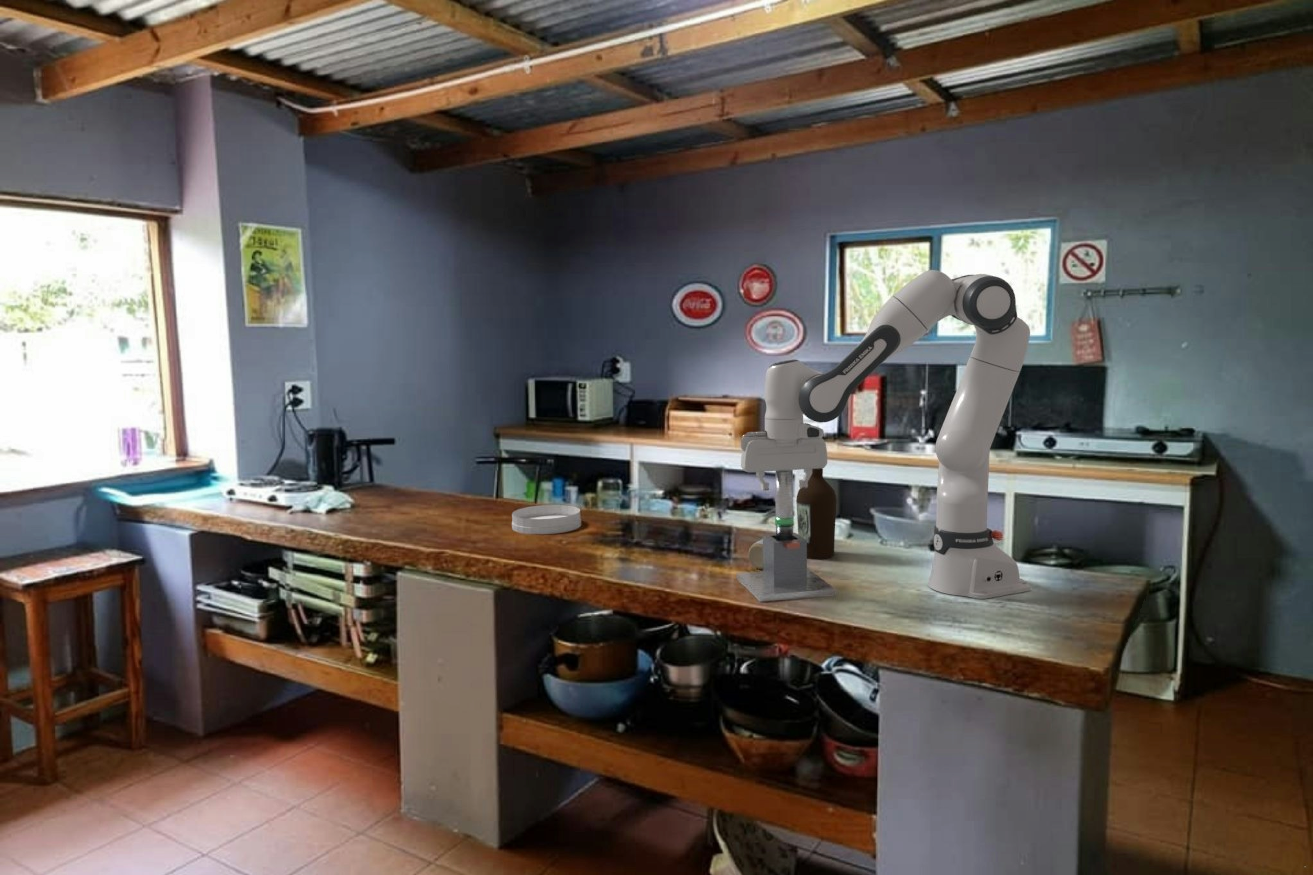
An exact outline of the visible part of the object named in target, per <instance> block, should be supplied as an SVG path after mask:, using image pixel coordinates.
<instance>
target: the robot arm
mask: <svg viewBox="0 0 1313 875" xmlns="http://www.w3.org/2000/svg"><path fill="white" fill-rule="evenodd" d="M1016 302H1017V301H1016V294H1015V291H1014V289H1013V288H1012V285H1010V284H1009V282H1007V280H1004V279H1003V278H1001V277H999V276H996V275H995V276H993V275H990V274H986V273H978V274H966V275H961V276H959V277H955V278H952V279H951V277H950V276H948V275H947V274H946V273H944V272H942V271H940V270H937V269H929V270H925V271H924V272H922V273H921V274H919V275H917V276H915V278H913V279H911V280H910V281H909V282H907V283H905V285H903V287H901V288H899V290H898V291H897V292H896V293H894V294H893V295H892V296H891V297H890V298H889V299H888V300H887V301H886V302H885V303H884V304H883V305H882V306H881V308H880V309H879V310H878V312H876V314H875V316H873V318H872V320H871V322H870V324H869V327H868V328H867V331H866V334H865V335H864V336H863V338H862V340H861V341H860V342H859V343H858V344H857V346H856V347H855V348H854V349H852V351H850V352H849V354H847V355H846V356H845V357H844V358H843V359H842V360H841V361H840V362H838V364H837V365H835V367H834V368H832V369H831V370H829V371H827V372H826V373H825V372H822V371H818V370H816V369H814V368H811V367H809V366H807V365H806V364H804V363H803V362H802V361H800V360H799V359H787V360H784V361H778V362H774V363H773V364H771V365H769V367H768V368H767V370H766V373H765V378H764V401H765V406H766V408H765V412H764V413H765V414H764V430H762V431H749V432H746V433H745V434H743V435H742V436H741V439H740V448H741V458H740V467H741V469H742V470H743V471H744V472H747V473H755V476H756V478H757V479H758V481H759V482H760V490H761V491H762V492H763V491H770V482H767V481H765V479H764V477H765V472H775V471H783V470H793V471H795V470H802V471H803V473H805V474H804V476H802V479H799V480H798V482H799V483H798V486H799V489H800V488H807V487H808V480H809V478H810V477H811V475H812V469H818V468H823V469H825V467H826V466H827V465H828V450H827V443H826V442H825V440H824V439H823V437H824V431H825V430H824V429H823V428H821V427H818V426H814V425H812V424H811V423H806V422H805V421H804V416H805V417H806V418H807V419H809V420H810V421H813V422H816V423H829V422H831V421H833V420H836V419H837V418H838V417H839V416H840V415H842V413H843V411H844V410H845V407H846V405H847V403H848V400H849V399H850V396H851V395H852V393H853V391H855V389H857V387H858V386H859V385H861V383H862V382H863V381H864V380H866V379H867V377H869V375H871V374H872V373H873V372H874V371H875V370H876V369H877V368H878V367H879V366H880V365H882V364H883V363H885V362H886V361H887V360H888V359H890V358H892V357H893V356H895V355H897V354H899V353H901V352H903V351H904V350H906V349H907V348H909V347H911V346H912V345H914V344H915V343H916V342H917V341H919V340H920V339H921V338H922V337H923V336H925V335H926V334H927V333H928V332H929V331H930V330H931V329H933V327H934V326H935V325H936V324H937V323H938V322H940V321H942V320H943V319H945V318H946V317H950V316H951V317H953V319H956V320H958V321H960V322H963V323H964V324H967V325H970V326H973V327H974V328H975V343H974V345H973V347H972V350H971V353H970V356H969V357H968V360H967V362H966V366H965V369H964V371H963V374H962V376H961V378H960V381H959V384H958V386H957V389H956V392H955V394H954V395H953V396H954V397H953V399H952V401H951V404H950V406H949V408H948V410H947V413H946V416H945V419H944V421H943V424H942V426H941V429H940V430H939V434H938V436H937V439H936V442H935V454H936V457H937V460H938V474H937V475H938V476H937V488H936V507H935V508H936V512H935V513H936V514H935V515H936V518H935V522H936V523H935V525H934V526H933V548H934V549H933V550H934V554H933V562H932V568H931V572H930V575H929V578H928V582H927V586H928V587H929V588H930V589H933V590H934V591H937V592H940V593H943V594H948V595H955V596H961V597H969V598H973V599H978V600H984V599H985V600H987V599H990V598H996V597H1002V596H1008V595H1014V594H1017V593H1023V592H1024V593H1025V592H1029V591H1031V585H1030V584H1029V583H1028V581H1026V580H1025V579H1023V578H1021V577H1020V570H1019V566H1018V563H1017V562H1016V560H1015V559H1014V558H1012V557H1011V556H1010V555H1009V554H1008V553H1006V552H1005V551H1003V550H1002V549H1001V548H1000V547H998V546H997V545H996V544H994V543H995V542H994V540H996V541H1002V540H1003V538H1004V533H1003V532H1002V531H999V530H991V529H990V528H988V503H989V502H988V501H989V500H988V499H989V473H990V450H991V446H992V444H993V442H994V439H995V436H996V434H997V432H998V428H999V426H1000V423H1001V421H1002V419H1003V415H1004V414H1005V411H1006V409H1007V406H1008V403H1009V401H1010V397H1012V396H1011V395H1012V393H1013V391H1014V388H1015V385H1016V382H1017V381H1018V378H1019V376H1020V373H1021V370H1022V367H1023V365H1024V362H1025V358H1026V355H1027V352H1028V351H1027V350H1028V347H1029V344H1030V343H1029V342H1030V337H1031V330H1030V327H1029V325H1028V323H1026V321H1024V320H1023V319H1022V318H1020V317H1018V311H1017V306H1016V305H1017V304H1016ZM993 539H994V540H993Z"/></svg>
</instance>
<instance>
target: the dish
mask: <svg viewBox="0 0 1313 875" xmlns="http://www.w3.org/2000/svg"><path fill="white" fill-rule="evenodd" d="M511 519H512V521H511V529H512V530H513V531H514V532H516V533H519V534H524V535H525V534H526V535H552V534H553V535H554V534H560V533H561V534H562V533H566V532H567V533H568V532H571V531H574V530H577V529H579V528H580V527H581V526H582V517H581V509H580V508H579V507H576V506H573V505H563V504H542V505H541V504H540V505H533V506H526V507H521V508H519V509H516V510H514V511H513V512H512V513H511Z"/></svg>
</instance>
